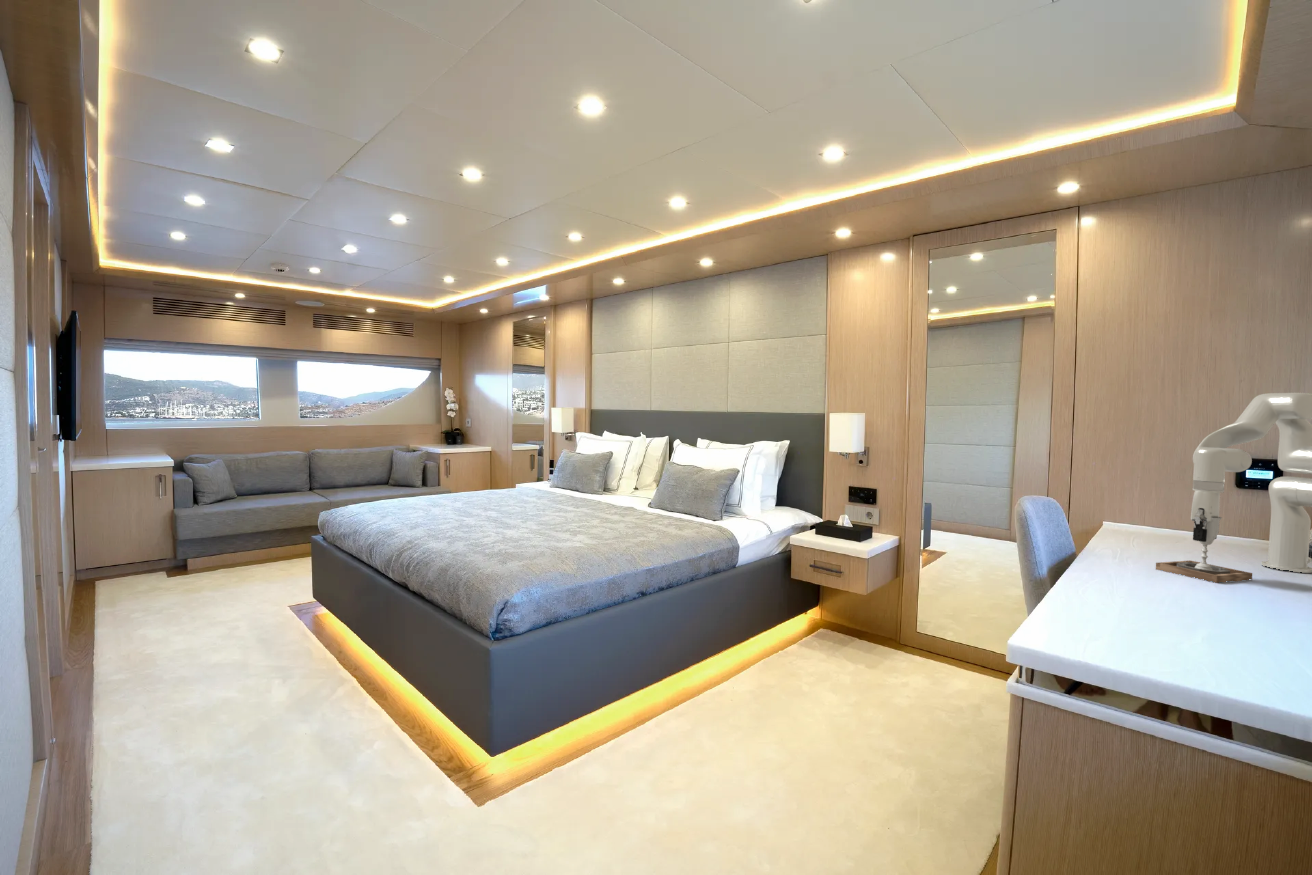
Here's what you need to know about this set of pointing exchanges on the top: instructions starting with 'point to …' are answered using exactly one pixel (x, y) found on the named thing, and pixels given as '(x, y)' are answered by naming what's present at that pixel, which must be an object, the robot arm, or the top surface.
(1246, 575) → the holder tray
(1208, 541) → the chalice
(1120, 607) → the top surface
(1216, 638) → the top surface
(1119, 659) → the top surface
